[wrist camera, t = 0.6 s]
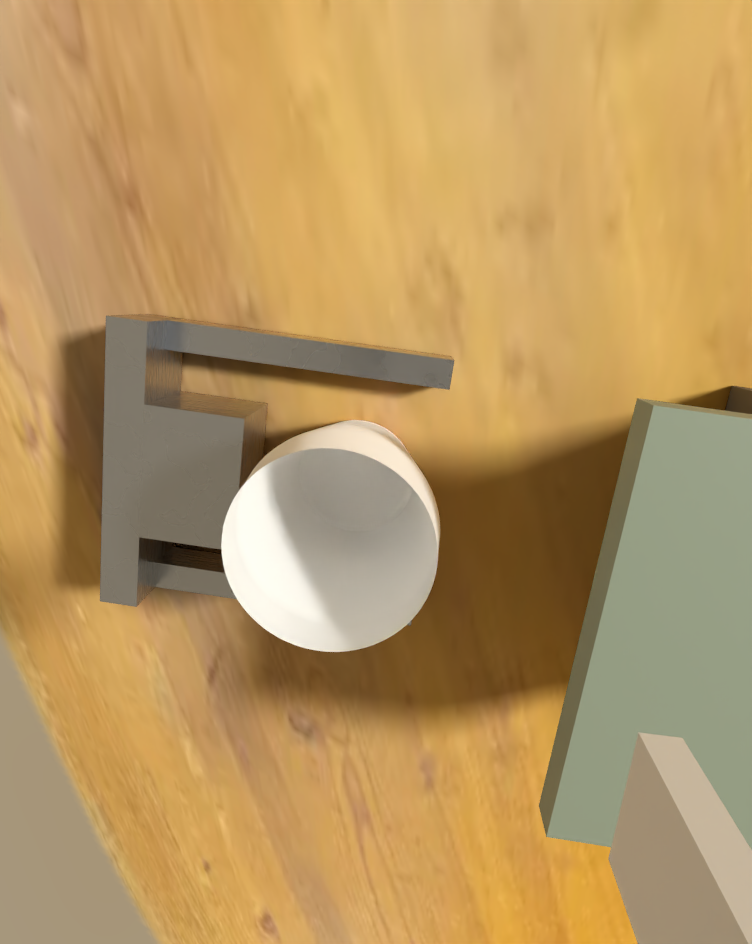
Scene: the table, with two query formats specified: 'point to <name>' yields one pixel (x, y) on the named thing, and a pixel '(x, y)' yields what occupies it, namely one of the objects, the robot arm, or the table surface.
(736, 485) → the shelf
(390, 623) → the cup
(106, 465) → the frame
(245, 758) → the table surface
